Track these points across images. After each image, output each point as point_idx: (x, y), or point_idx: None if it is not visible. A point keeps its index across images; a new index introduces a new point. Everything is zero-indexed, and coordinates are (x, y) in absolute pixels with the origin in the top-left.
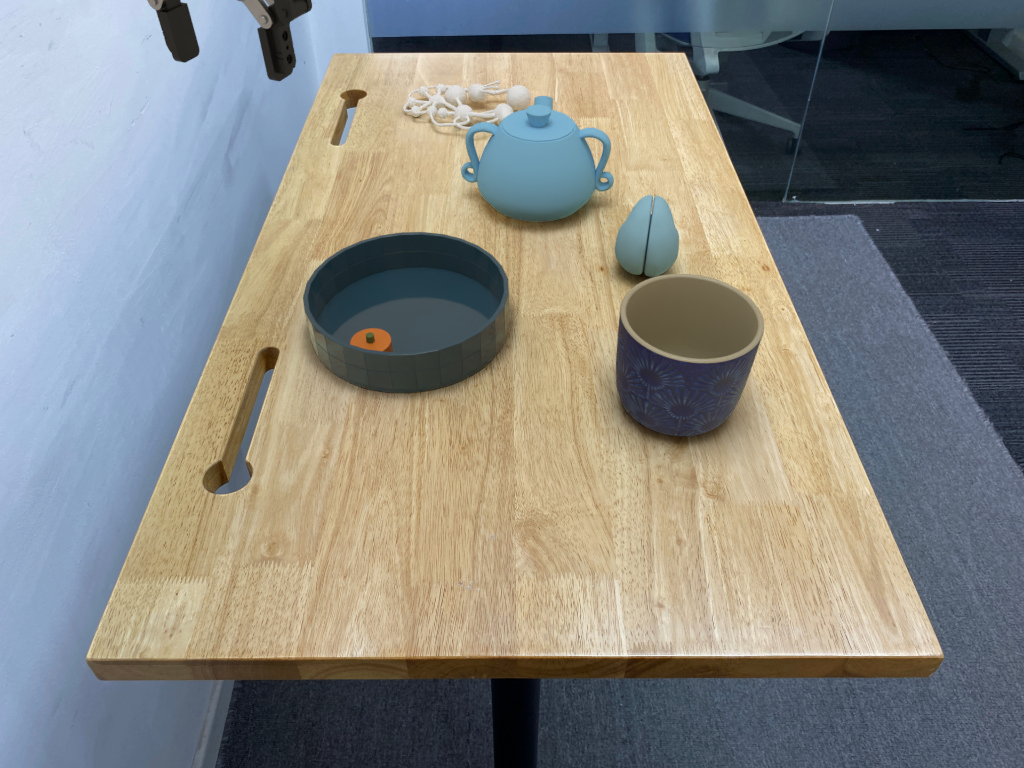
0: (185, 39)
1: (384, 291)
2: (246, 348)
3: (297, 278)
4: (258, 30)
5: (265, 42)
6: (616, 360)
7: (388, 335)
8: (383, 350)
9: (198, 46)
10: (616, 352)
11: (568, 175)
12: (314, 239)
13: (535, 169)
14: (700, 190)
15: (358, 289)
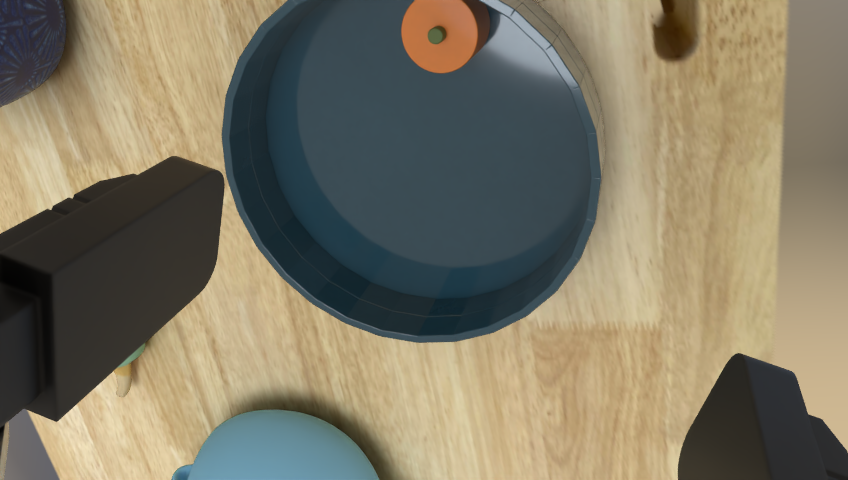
0: (718, 470)
1: (489, 230)
2: (729, 51)
3: (674, 269)
4: (52, 266)
5: (69, 226)
6: (15, 3)
7: (410, 53)
8: (408, 9)
9: (679, 478)
10: (15, 18)
11: (202, 468)
12: (668, 384)
13: (243, 478)
14: (96, 476)
15: (539, 234)
